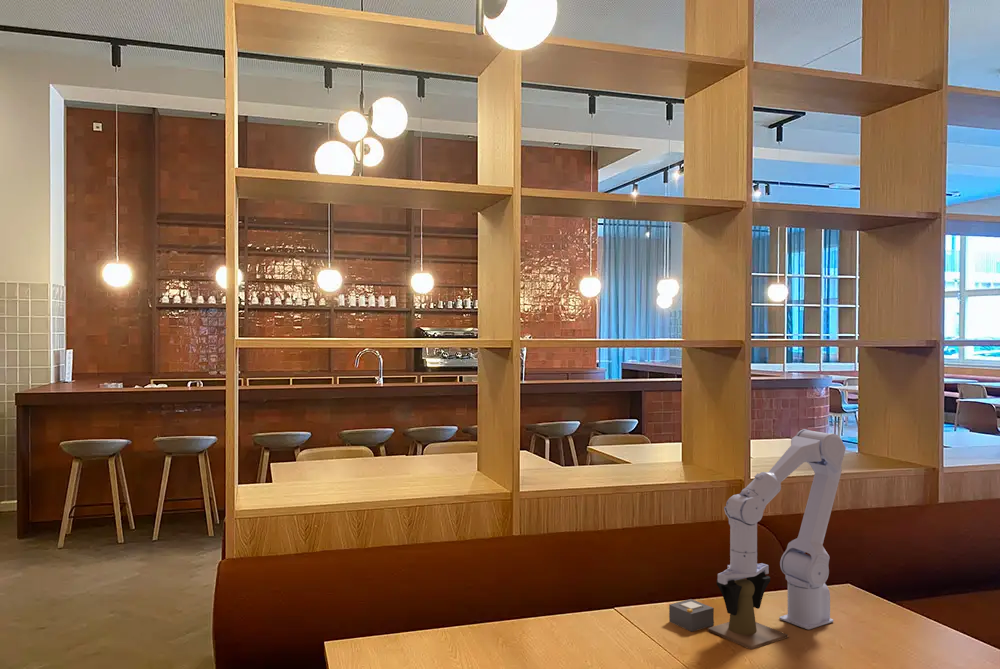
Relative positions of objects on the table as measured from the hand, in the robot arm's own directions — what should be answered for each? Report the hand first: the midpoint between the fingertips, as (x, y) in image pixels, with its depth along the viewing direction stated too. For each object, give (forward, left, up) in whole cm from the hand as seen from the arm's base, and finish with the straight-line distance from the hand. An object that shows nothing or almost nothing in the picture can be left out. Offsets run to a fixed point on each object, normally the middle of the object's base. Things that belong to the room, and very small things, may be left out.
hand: (743, 610), depth 172 cm
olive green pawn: (0, 0, -4) cm, 5 cm away
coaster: (0, +1, -5) cm, 5 cm away
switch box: (+6, -10, -5) cm, 13 cm away
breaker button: (+6, -10, -4) cm, 12 cm away
